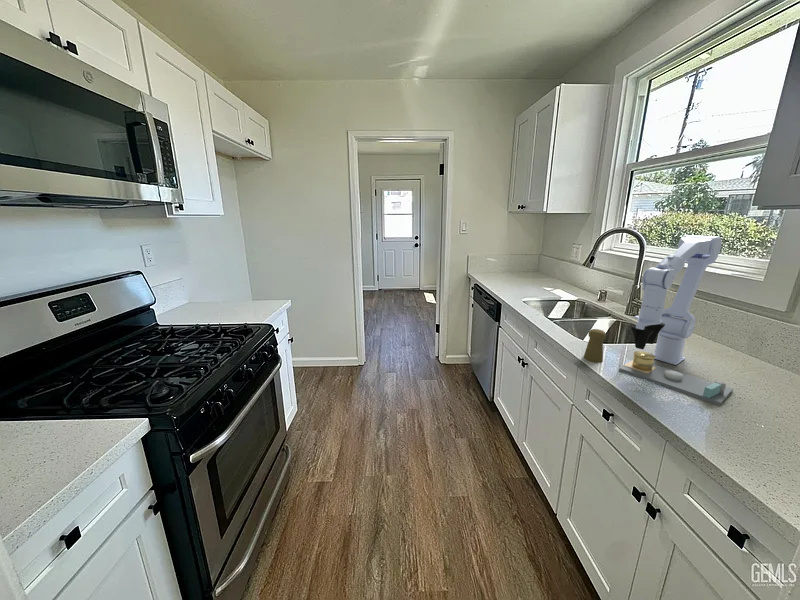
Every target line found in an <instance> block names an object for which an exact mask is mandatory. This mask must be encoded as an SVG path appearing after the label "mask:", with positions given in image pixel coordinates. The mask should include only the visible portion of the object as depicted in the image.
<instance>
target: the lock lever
mask: <svg viewBox="0 0 800 600" xmlns="http://www.w3.org/2000/svg"><path fill="white" fill-rule="evenodd" d="M725 387H727V383H725V382H724V381H720V380H715V381H713V384H711V385H709V386H706V387H705V389H704V393H703V396H705V397H707V398H710V397H713V396H715V395H717V394H719V393H724V390H725Z"/></svg>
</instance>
